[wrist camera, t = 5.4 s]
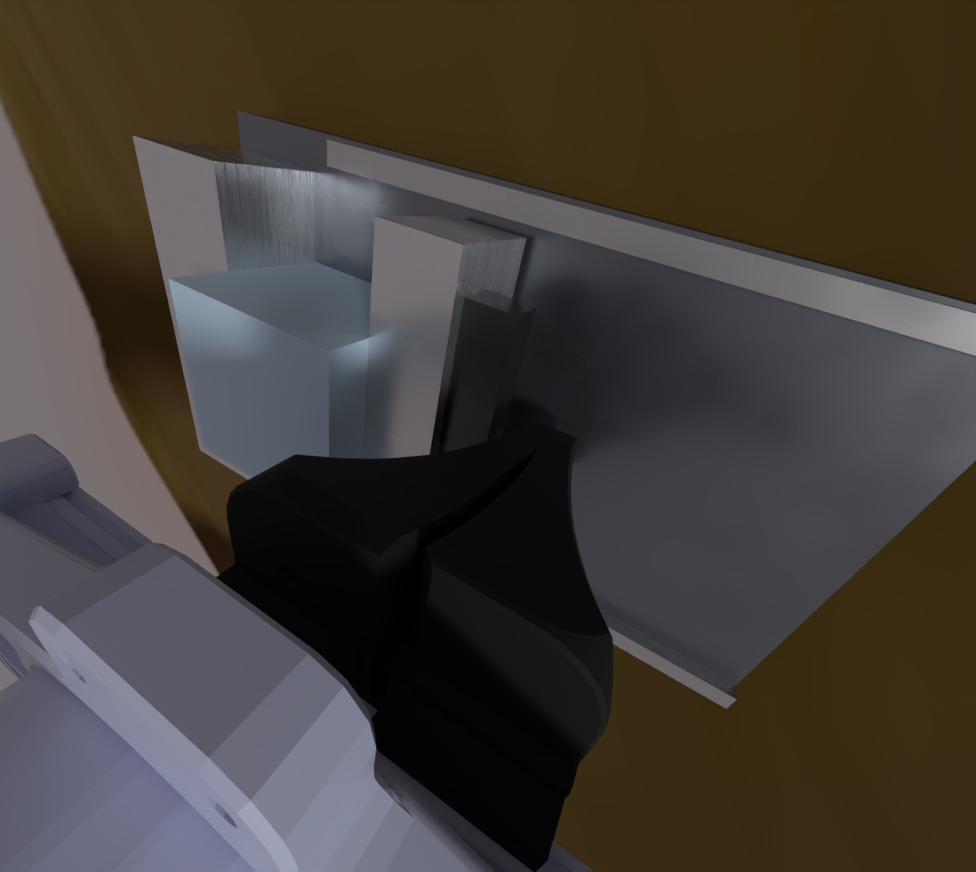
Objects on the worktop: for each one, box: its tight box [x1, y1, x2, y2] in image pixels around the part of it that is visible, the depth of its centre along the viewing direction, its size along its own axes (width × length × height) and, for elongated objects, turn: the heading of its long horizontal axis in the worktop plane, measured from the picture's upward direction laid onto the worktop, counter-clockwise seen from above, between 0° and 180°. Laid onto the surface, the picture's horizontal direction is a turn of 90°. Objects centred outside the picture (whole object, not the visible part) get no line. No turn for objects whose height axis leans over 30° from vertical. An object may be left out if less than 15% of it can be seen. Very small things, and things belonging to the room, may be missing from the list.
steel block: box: [168, 262, 372, 477], centre depth 12 cm, size 5×5×4 cm
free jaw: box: [363, 216, 537, 459], centre depth 12 cm, size 10×3×3 cm, turn 167°
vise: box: [133, 110, 976, 709], centre depth 12 cm, size 12×20×4 cm, turn 77°
